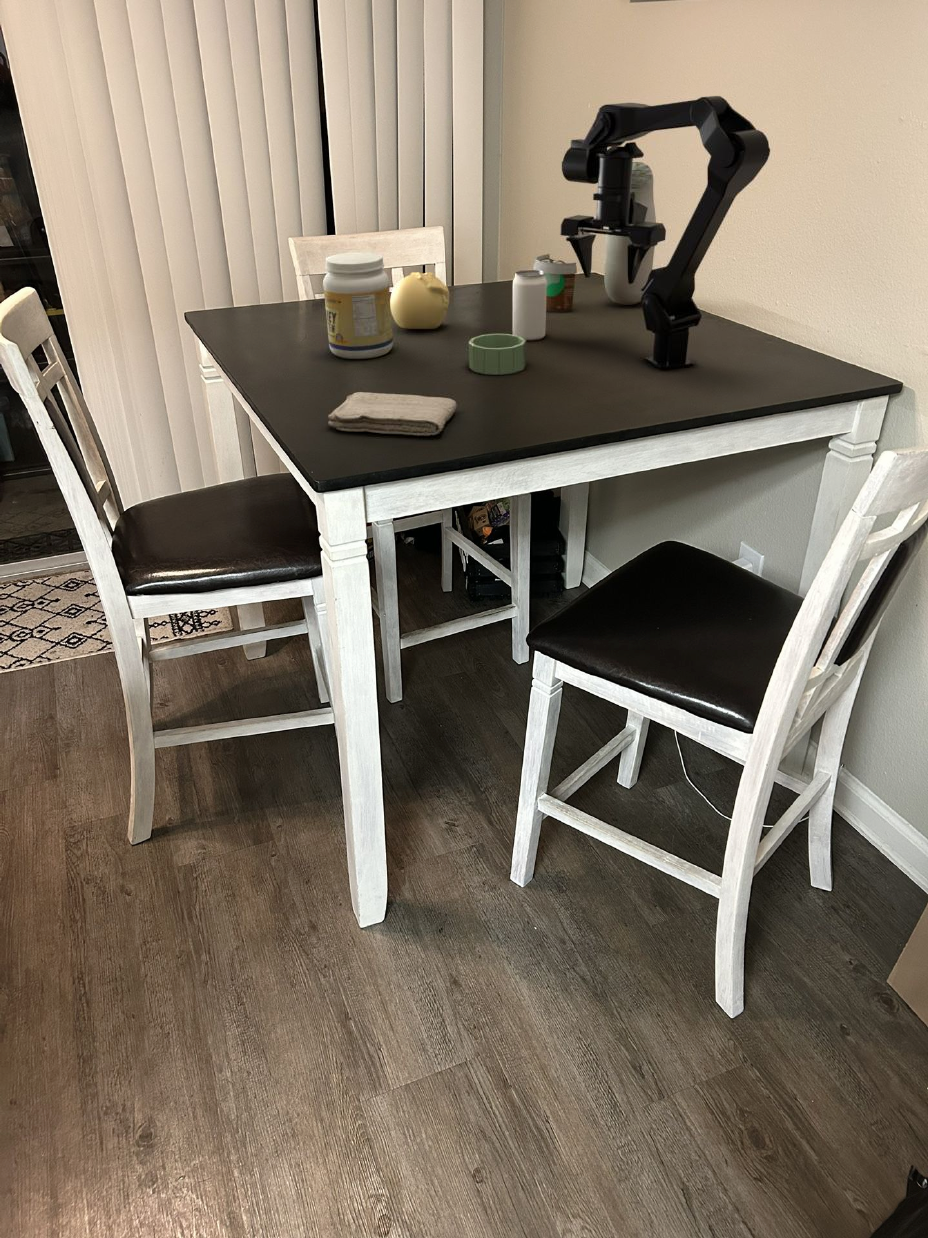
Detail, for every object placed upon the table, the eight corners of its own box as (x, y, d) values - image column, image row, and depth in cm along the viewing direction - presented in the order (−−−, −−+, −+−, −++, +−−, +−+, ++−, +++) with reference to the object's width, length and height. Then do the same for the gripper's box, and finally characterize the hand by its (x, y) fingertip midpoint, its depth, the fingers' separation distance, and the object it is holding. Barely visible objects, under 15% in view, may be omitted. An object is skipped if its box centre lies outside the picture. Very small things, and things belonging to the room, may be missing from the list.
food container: (522, 303, 203) (523, 256, 198) (547, 300, 205) (548, 253, 200) (550, 315, 194) (551, 266, 188) (575, 312, 196) (577, 262, 190)
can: (552, 335, 180) (553, 272, 174) (530, 342, 176) (531, 277, 170) (527, 330, 184) (528, 267, 178) (505, 337, 180) (505, 273, 174)
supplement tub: (323, 347, 177) (313, 254, 168) (383, 339, 181) (376, 248, 172) (338, 363, 168) (329, 266, 159) (401, 355, 171) (396, 259, 162)
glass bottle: (595, 301, 204) (602, 160, 189) (637, 296, 206) (647, 158, 191) (614, 311, 196) (623, 165, 181) (657, 306, 198) (670, 162, 183)
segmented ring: (532, 370, 161) (533, 345, 159) (479, 377, 159) (479, 351, 157) (514, 356, 169) (514, 331, 167) (463, 361, 167) (462, 336, 165)
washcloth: (351, 405, 148) (349, 387, 146) (459, 411, 144) (458, 392, 142) (325, 432, 138) (323, 412, 136) (441, 439, 134) (440, 418, 133)
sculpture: (458, 330, 186) (456, 274, 180) (402, 337, 182) (398, 280, 176) (438, 317, 195) (436, 264, 189) (384, 324, 191) (381, 269, 185)
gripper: (685, 184, 158) (676, 278, 167) (594, 177, 169) (590, 266, 177) (652, 191, 151) (645, 289, 160) (559, 184, 162) (557, 277, 170)
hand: (609, 280), depth 167 cm, fingers open, 9 cm apart
